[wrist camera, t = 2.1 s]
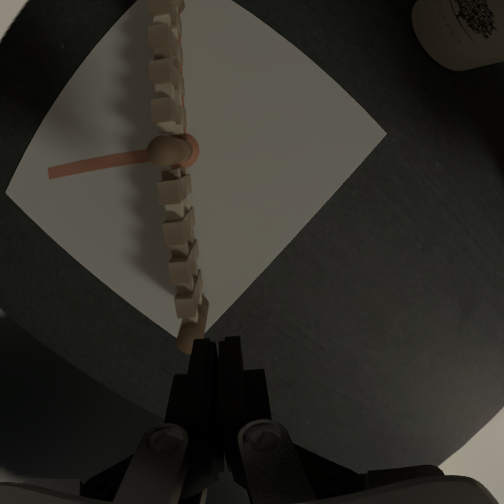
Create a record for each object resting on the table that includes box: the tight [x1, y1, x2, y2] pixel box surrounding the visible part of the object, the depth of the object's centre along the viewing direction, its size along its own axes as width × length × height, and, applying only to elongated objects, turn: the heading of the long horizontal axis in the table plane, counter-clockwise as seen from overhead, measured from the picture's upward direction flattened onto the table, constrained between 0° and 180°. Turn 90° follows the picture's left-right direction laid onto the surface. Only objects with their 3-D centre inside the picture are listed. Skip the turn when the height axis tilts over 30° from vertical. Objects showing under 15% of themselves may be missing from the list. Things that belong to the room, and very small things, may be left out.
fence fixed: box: [147, 0, 193, 167], centre depth 18 cm, size 14×2×6 cm, turn 4°
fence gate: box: [157, 166, 209, 354], centre depth 22 cm, size 12×2×6 cm, turn 4°
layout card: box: [6, 0, 387, 338], centre depth 23 cm, size 25×23×1 cm
